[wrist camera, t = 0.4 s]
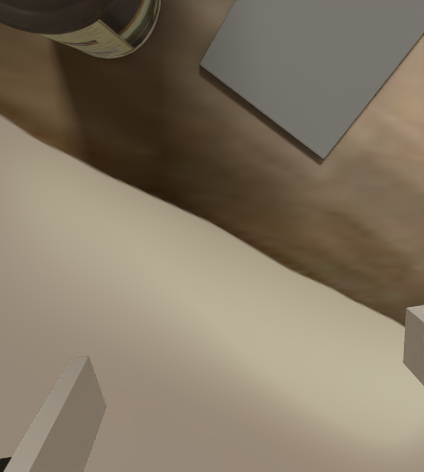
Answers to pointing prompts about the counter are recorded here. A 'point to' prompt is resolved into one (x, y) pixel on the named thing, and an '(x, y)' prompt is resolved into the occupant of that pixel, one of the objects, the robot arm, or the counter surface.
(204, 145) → the counter surface
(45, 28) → the coffee can
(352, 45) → the mat
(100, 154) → the counter surface
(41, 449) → the robot arm
